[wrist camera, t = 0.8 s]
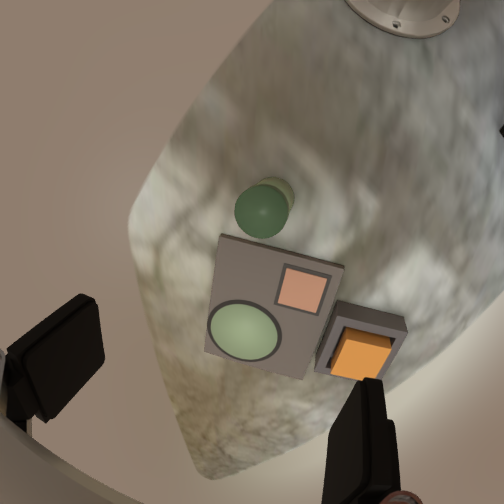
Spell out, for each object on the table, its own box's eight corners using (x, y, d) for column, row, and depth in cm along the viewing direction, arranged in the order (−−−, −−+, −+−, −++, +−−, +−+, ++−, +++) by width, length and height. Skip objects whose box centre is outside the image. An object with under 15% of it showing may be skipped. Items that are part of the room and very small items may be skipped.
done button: (346, 325, 31) (346, 339, 29) (388, 335, 30) (391, 349, 28) (331, 359, 33) (330, 373, 31) (371, 368, 32) (372, 382, 30)
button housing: (337, 300, 32) (337, 315, 29) (403, 316, 31) (408, 332, 28) (315, 354, 35) (314, 371, 33) (376, 368, 34) (378, 385, 32)
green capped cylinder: (256, 171, 29) (239, 181, 24) (299, 181, 29) (292, 193, 23) (248, 212, 31) (230, 231, 26) (289, 223, 30) (280, 244, 25)
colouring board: (221, 233, 32) (218, 236, 32) (344, 266, 31) (344, 270, 30) (206, 347, 39) (203, 352, 38) (302, 375, 37) (302, 381, 36)
